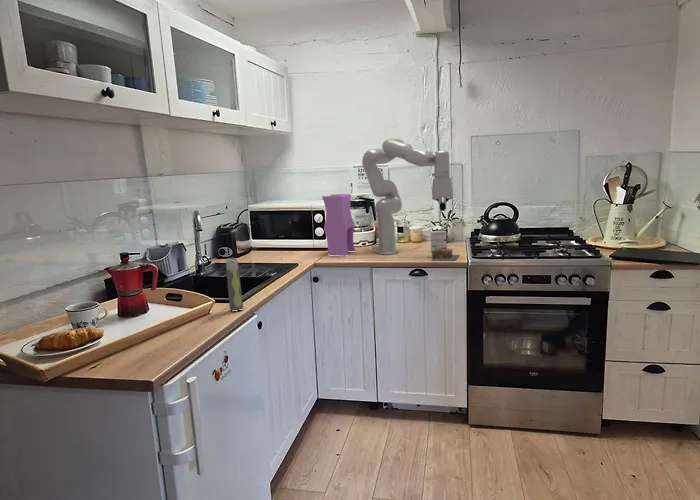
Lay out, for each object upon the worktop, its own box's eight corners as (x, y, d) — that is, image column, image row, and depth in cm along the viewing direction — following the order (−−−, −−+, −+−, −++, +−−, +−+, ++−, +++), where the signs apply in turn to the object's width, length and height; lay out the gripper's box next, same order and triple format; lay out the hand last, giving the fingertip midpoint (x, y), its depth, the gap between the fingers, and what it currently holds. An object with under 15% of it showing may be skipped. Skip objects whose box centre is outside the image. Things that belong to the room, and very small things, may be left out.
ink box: (446, 250, 275) (445, 230, 273) (447, 252, 270) (446, 231, 268) (430, 251, 276) (430, 230, 274) (431, 252, 271) (430, 232, 269)
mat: (432, 260, 249) (432, 259, 249) (437, 255, 262) (437, 254, 262) (455, 260, 245) (455, 259, 245) (459, 255, 258) (459, 254, 258)
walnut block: (431, 250, 252) (450, 250, 249) (433, 248, 258) (452, 248, 254) (431, 258, 253) (450, 258, 250) (433, 255, 259) (452, 256, 255)
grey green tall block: (228, 310, 180) (222, 258, 177) (240, 307, 183) (235, 256, 179) (233, 313, 176) (227, 260, 173) (245, 310, 179) (240, 257, 175)
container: (334, 252, 292) (331, 194, 286) (356, 252, 287) (352, 193, 281) (325, 256, 279) (321, 196, 273) (348, 256, 274) (344, 195, 268)
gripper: (426, 176, 246) (427, 211, 249) (455, 174, 240) (456, 211, 243) (428, 175, 252) (430, 210, 256) (457, 174, 247) (458, 209, 250)
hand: (443, 210), depth 250 cm, fingers closed
